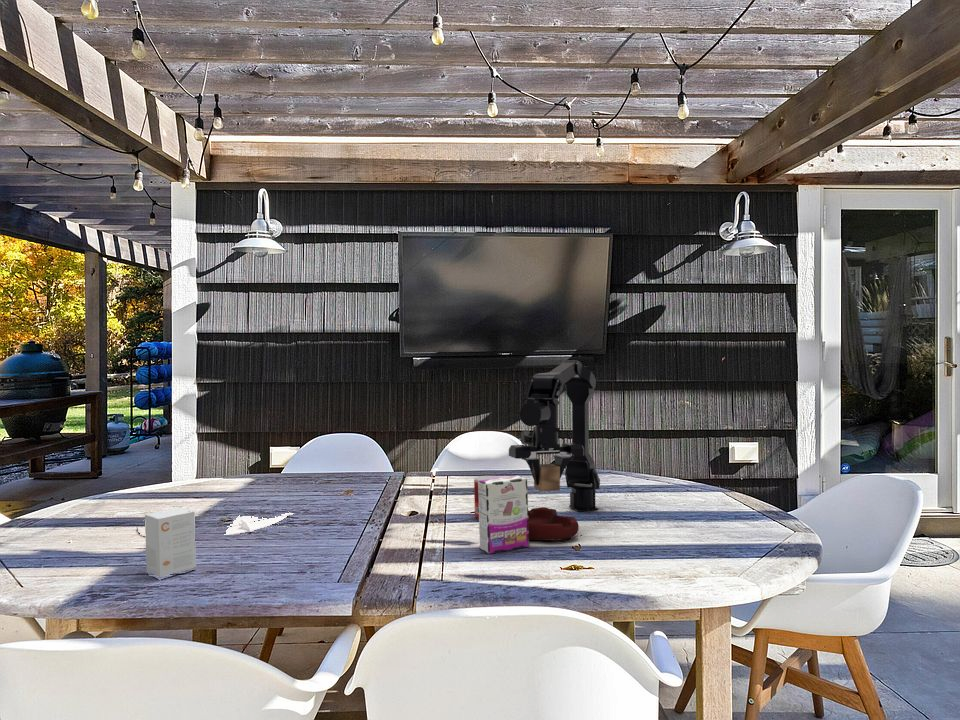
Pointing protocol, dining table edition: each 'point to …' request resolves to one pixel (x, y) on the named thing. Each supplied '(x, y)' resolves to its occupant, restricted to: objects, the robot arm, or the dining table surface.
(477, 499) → the canned food
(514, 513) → the candy bar box
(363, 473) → the dining table surface
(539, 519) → the ashtray
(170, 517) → the small box
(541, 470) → the walnut block
